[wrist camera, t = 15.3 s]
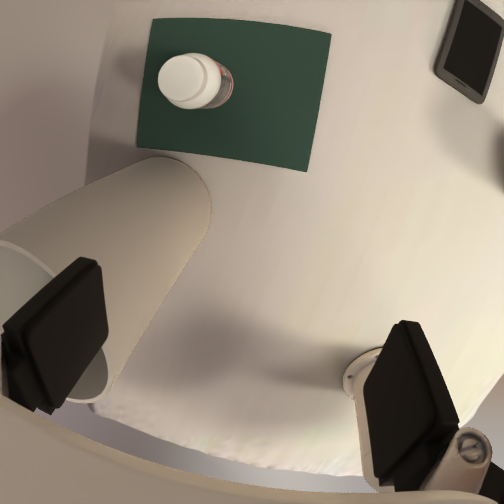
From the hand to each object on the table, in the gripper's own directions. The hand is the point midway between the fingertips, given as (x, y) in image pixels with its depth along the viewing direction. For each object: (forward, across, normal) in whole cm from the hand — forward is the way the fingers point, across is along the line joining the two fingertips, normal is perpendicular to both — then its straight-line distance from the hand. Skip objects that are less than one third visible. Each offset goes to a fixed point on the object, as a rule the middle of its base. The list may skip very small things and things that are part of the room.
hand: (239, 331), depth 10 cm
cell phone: (+28, -20, -21) cm, 40 cm away
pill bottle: (+28, +9, -8) cm, 30 cm away
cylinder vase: (+28, +13, +7) cm, 32 cm away
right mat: (+28, +7, -8) cm, 30 cm away
